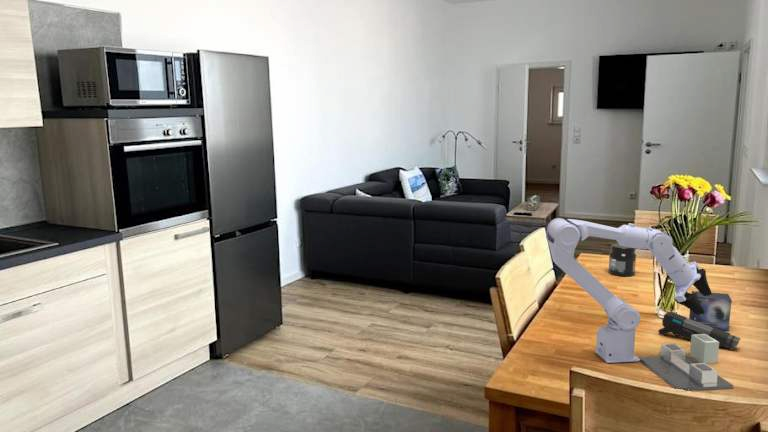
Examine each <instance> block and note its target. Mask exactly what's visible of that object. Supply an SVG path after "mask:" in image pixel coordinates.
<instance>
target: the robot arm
mask: <svg viewBox="0 0 768 432" xmlns="http://www.w3.org/2000/svg"><path fill="white" fill-rule="evenodd" d="M588 237H593V238H601V239H606V240H607V239H608V240H614V241H616V242H617V244H619V245H621V246H626V247H631V248H635V249H637V250H643V251H644V250H649V251H650V252H651V254H652V255H653V256H654V258H655V259H656V261H657V263H658V264H659V265H660V267H661V268H663V270H664V271H665V273H666V274H667V275H668V277H669V278H670V279H671V281H672V282H673V283H674V290H675V291H674V301H675V302H676V304H678V305H682V306H683V307H686V308H687V309H689V311H690V310H692V311H693V312H694V313H696V314H697V315H699V314H704V312H705V311H704V309H703V307H702V306H701V304H700V302H699V300H698V298H697V293H692V294H691V293H690V292H688V291H689V290H690V288H691V287H692V286H693V287H695V289H697V291H699V292H700V293H701V294H702V295H703V296H708V295H711V294H712V293H713V292H712V290H711V288H710V285H709V282H708V279H707V271H706V270H705V269H704V268H700V265H699V264H698V262H696V261H692V262H689V263H688V262H687V261H686V259H685V258H684V257H683V255H682V254H681V253H680V252H679V250H678V248H676V247H675V246H674V244H673V243H674V241H673V238H672V237H671V236H669V234H667V233H665V232H663V231H661V230H659V229H656V228H652V227H648V226H647V227H646V228H645V227H641V226H640V227H639V226H636V224H634V223H630V222H629V223H628V224H622V225H620V226H619V227H614V226H608V225H605V224H600V223H595V222H591V221H586V220H580V219H574V218H573V219H572V218H567V219H564V218H562V217H556V218H554V219H552V220H550V222H549V223H548V224H547V227H546V233H545V238H546V240H547V243H548V246H549V250H550V254H551V258H552V261H553V263H554V264H555V265H556V266H557V267H558V268H559V269H560V270H562V271H563V272H564V273H565V274H566V275H568V277H569V278H570V279H571V280H572V281H574V282H575V283H576V284H578V286H579V287H580V288H582V289H583V291H585V293H587V294H588V295H589V296H590V297H591V298H593V300H594V301H596V302H597V304H599V306H602V308H603V309H604V312H605V315H606V316H607V317H608V320H607V324H606V325H603V326H599V327H598V329H597V332H596V340H595V341H596V344H595V350H594V353H596V354H597V355H598V356H599V357H600V358H601V359H602V360H603V361H604V362H605V363H607V364H610V363H612V364H613V363H614V364H615V363H631V362H640V359H639V358H638V357H639V356H637V355H635V342H636V328H637V327H638V326H639V324H640V323H641V315H640V312H639V311H638V310H637V309H636V308H633V307H632V306H631V305H630V304H629V303H627V302H626V301H625V300H624V299H623V298H622V297H621V298H620V297H617V296H616V295H615V294H614V293H613V292H612V291H610V290H609V289H608V288H607V287H606V286H605V285H604V284H603V283H601V281H600V280H599V279H597V278H596V277H595V275H593V274H592V273H591V272H590V271H588V269H586V268H585V267H584V266H583V264H581V263H580V262H579V261H578V260H576V259H575V258H574V256H575V251H576V249H577V246H578V243H579V241H583V242H584V241H585V240H586V239H587V238H588ZM699 268H700V269H699Z"/></svg>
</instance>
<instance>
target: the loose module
mask: <svg viewBox="0 0 768 432" xmlns="http://www.w3.org/2000/svg"><path fill="white" fill-rule="evenodd" d="M689 348H690V349H689V350H690V351H689V356H690V357H691V358H693V359H694V360H696V361H697V362H699V363H706V364H707V365H708V364H717V363H718V358H719V350H720V347H719V342H718V341H717V340H715V339H713V338H711V337H710V336H708V335H706V334H692V335H691V340H690V347H689Z"/></svg>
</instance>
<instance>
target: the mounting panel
mask: <svg viewBox="0 0 768 432" xmlns="http://www.w3.org/2000/svg"><path fill="white" fill-rule="evenodd" d="M659 351H660V353H659V355H650V356H637V357H638V358H639V359H640V361H639V362H640V363H642V364H643V365H644V366H645V367H647V368H648V369H649V370H650V371H652V372H653V373H655V374H656V375H657V376H658V377H659V378H661V379H662V380H663V381H665V382H666V383H668V384H669V385H670V386H671V387H672V386H673V387H672V388H673V389H675V388H677V389H683V390H688V389H689V390H696V391H709V390H710V391H711V390H725V389H727V390H729V389H734V384H732V383H731V382H729V381H728V380H726V379H725V378H723V377H722V376H720V375H718V374H719V373H718V372H719V371H718V370H716V369H715V368H713V367H712V366H711V365H709V364H708V363H707V364H706V363H702V362H700V361H698V360H697V359H695V358H694V357H692V356H691V355H688V354H686V351H687V350H685V349H684V348H682V347H681V346H679V345H678V344H677V343H661V344H660V350H659Z"/></svg>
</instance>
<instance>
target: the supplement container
mask: <svg viewBox="0 0 768 432" xmlns="http://www.w3.org/2000/svg"><path fill="white" fill-rule="evenodd" d="M608 255H609V257H608V261H609V262H608V273H609V274H610V275H613V276H617V277H632V276H634V275H635V274H636V262H637V254H636V248H631V247H626V246H621V245H619V244H618V243H612V244H611V246H610V251H609V254H608Z"/></svg>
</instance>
